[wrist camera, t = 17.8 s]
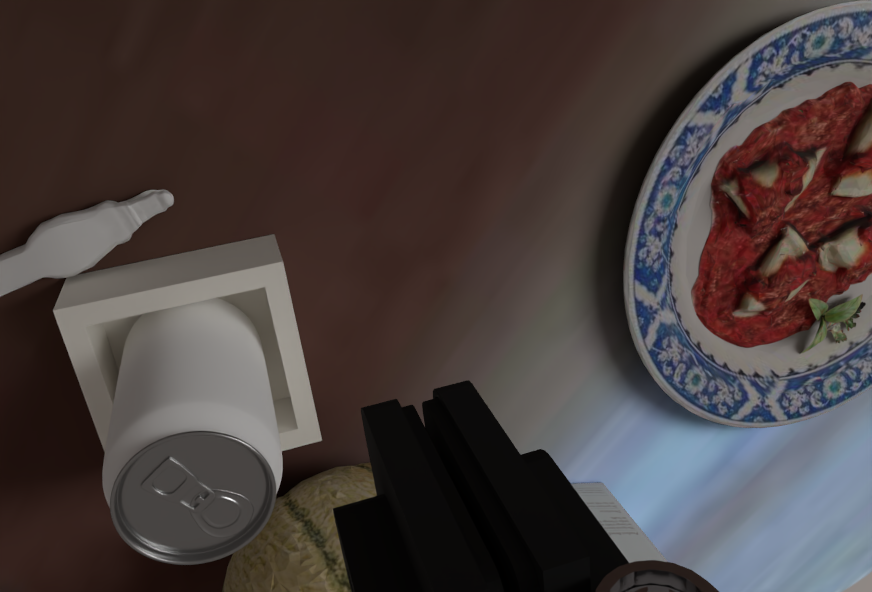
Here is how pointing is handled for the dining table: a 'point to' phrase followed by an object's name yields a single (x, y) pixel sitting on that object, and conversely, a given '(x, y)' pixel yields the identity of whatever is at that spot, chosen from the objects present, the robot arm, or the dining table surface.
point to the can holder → (179, 285)
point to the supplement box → (617, 523)
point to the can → (192, 435)
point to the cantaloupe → (302, 537)
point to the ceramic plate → (763, 231)
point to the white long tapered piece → (78, 239)
